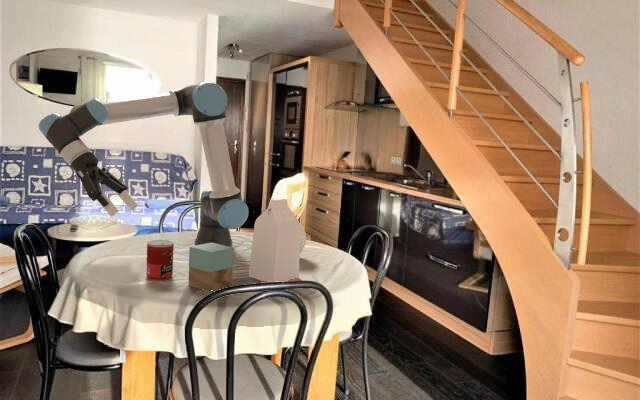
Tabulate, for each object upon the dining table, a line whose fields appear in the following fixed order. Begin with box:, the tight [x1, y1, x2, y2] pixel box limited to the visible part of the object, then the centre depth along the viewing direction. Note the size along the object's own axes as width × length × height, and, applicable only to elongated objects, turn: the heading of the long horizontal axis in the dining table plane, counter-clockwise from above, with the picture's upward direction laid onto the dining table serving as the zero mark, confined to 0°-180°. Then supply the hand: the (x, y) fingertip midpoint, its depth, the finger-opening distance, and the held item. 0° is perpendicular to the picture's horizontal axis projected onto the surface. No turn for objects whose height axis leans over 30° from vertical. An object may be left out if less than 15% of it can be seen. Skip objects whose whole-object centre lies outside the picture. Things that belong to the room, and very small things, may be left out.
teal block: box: [188, 243, 234, 272], centre depth 145 cm, size 9×9×6 cm
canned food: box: [146, 239, 175, 281], centre depth 150 cm, size 8×8×11 cm
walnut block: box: [187, 266, 233, 292], centre depth 146 cm, size 9×9×6 cm
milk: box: [248, 198, 301, 282], centre depth 158 cm, size 12×12×26 cm
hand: (125, 210), depth 150 cm, fingers open, 13 cm apart
